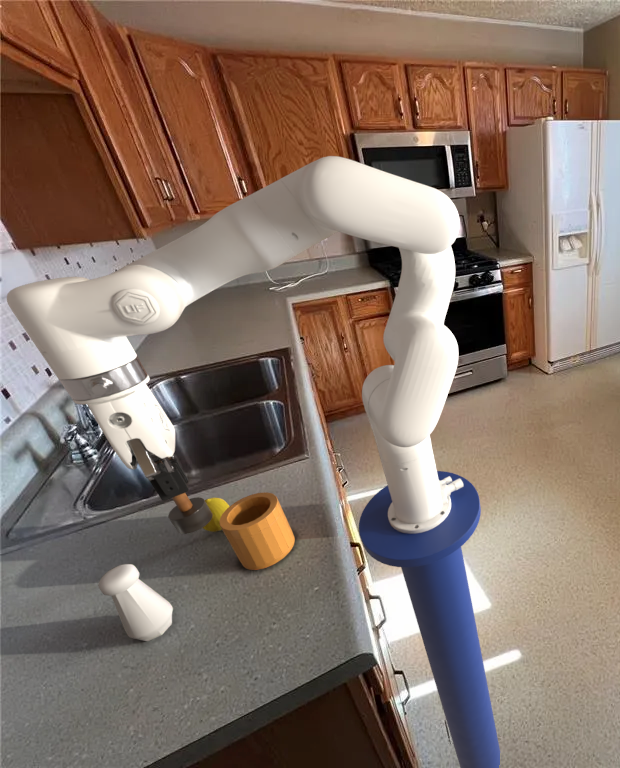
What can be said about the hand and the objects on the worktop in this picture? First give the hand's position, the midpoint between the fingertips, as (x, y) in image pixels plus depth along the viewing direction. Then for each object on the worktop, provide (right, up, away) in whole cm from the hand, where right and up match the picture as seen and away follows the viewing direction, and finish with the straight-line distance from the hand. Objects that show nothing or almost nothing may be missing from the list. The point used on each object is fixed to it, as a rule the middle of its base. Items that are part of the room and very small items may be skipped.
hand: (175, 490), depth 60 cm
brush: (+1, -6, +3) cm, 7 cm away
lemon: (-10, -14, +24) cm, 30 cm away
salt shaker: (-8, -24, +6) cm, 26 cm away
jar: (+3, -16, +18) cm, 24 cm away
